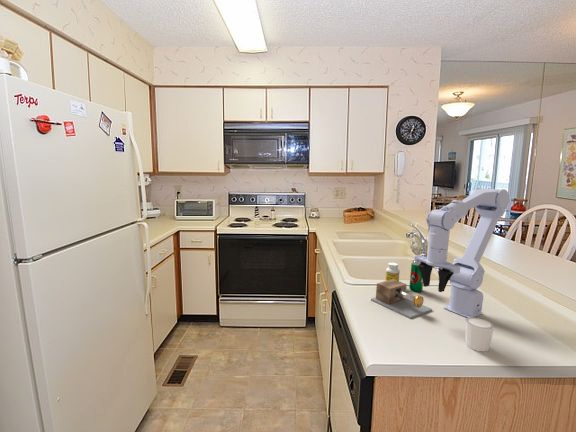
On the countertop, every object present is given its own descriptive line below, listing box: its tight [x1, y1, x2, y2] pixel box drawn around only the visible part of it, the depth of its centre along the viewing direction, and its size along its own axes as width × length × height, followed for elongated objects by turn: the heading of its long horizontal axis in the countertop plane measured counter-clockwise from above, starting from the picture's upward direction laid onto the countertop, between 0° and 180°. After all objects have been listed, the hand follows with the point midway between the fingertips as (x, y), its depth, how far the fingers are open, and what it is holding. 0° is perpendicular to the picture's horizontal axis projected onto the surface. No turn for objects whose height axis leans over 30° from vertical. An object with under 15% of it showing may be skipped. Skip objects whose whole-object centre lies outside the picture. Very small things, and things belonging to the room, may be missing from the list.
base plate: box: [370, 296, 433, 320], centre depth 115 cm, size 17×12×1 cm
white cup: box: [464, 317, 495, 353], centre depth 88 cm, size 7×7×7 cm
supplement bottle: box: [385, 262, 400, 282], centre depth 133 cm, size 5×5×10 cm
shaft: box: [395, 289, 425, 308], centre depth 112 cm, size 10×4×4 cm, turn 33°
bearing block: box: [375, 279, 408, 305], centre depth 118 cm, size 6×9×6 cm, turn 123°
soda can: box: [409, 259, 424, 293], centre depth 129 cm, size 5×5×12 cm
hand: (433, 288), depth 103 cm, fingers open, 5 cm apart
